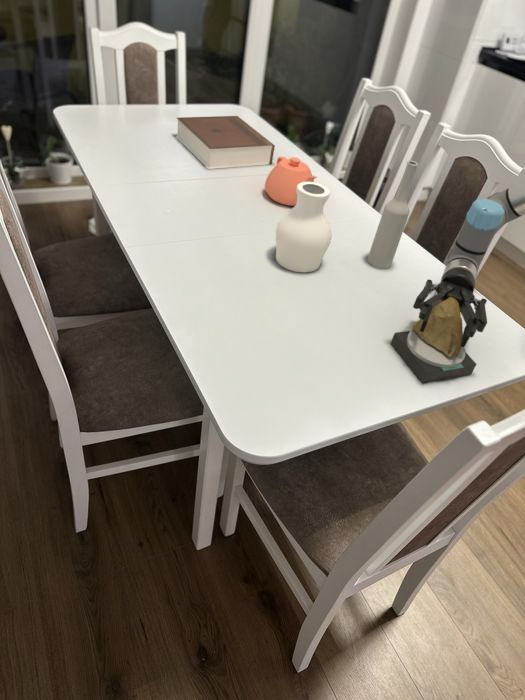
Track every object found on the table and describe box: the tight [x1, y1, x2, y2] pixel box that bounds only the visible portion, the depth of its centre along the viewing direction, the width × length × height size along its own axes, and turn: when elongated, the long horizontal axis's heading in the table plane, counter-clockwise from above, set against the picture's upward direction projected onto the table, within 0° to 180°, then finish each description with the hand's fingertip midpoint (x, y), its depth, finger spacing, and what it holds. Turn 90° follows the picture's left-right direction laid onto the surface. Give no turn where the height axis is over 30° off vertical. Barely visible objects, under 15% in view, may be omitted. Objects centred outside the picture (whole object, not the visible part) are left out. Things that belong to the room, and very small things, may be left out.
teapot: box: [264, 155, 318, 207], centre depth 165 cm, size 22×16×12 cm
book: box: [175, 115, 276, 170], centre depth 189 cm, size 24×28×7 cm
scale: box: [390, 329, 478, 384], centre depth 118 cm, size 13×13×4 cm
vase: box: [275, 181, 333, 274], centre depth 136 cm, size 14×14×20 cm
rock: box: [411, 297, 464, 357], centre depth 114 cm, size 11×9×10 cm
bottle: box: [367, 160, 419, 270], centre depth 139 cm, size 7×7×28 cm
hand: (444, 334), depth 109 cm, fingers closed on rock, 8 cm apart
